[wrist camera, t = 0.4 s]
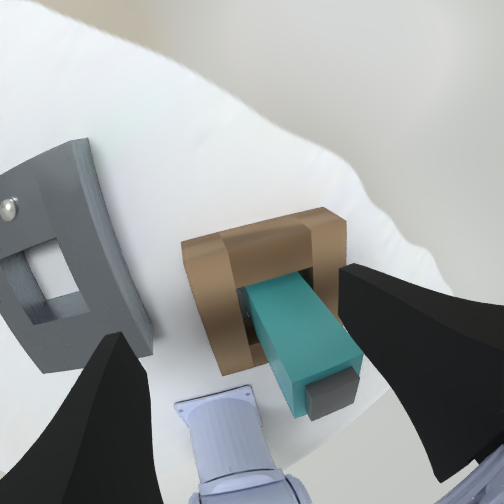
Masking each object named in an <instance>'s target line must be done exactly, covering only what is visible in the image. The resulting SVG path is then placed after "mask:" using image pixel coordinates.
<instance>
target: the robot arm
mask: <svg viewBox="0 0 504 504" xmlns="http://www.w3.org/2000/svg"><path fill="white" fill-rule="evenodd" d="M338 316H339V318H340V320H341V321H342V323H343V325H344V327H345V328H346V330H347V331H348V333H349V335H350V336H351V338H352V339H353V340H354V341H355V343H356V344H357V345H358V346H359V348H360V349H361V350H362V351H363V353H364V354H365V355H366V356H367V358H368V359H369V360H370V361H371V362H372V364H373V365H374V366H375V367H376V368H377V370H378V371H379V372H380V373H381V375H382V376H383V377H384V378H385V380H386V381H387V382H388V384H389V385H390V386H391V388H392V389H393V390H394V392H395V394H396V395H397V397H398V398H399V400H400V401H401V404H402V405H403V407H404V409H405V410H406V412H407V414H408V415H409V417H410V419H411V421H412V423H413V425H414V427H415V429H416V431H417V433H418V435H419V437H420V439H421V441H422V444H423V446H424V448H425V450H426V453H427V455H428V458H429V460H430V463H431V466H432V469H433V472H434V475H435V476H436V478H437V480H438V481H439V482H440V483H442V482H444V481H445V480H447V479H448V478H450V477H451V476H453V475H454V474H456V473H457V472H458V471H460V470H461V469H463V468H464V467H465V466H467V465H468V464H469V463H470V462H471V461H472V460H474V459H475V460H476V461H477V463H478V464H479V466H478V467H477V468H476V469H475V470H474V471H472V472H471V473H470V474H469V475H468V476H467V477H466V478H465V479H464V480H463V481H461V482H460V483H459V484H458V485H457V486H456V487H454V488H453V489H452V490H451V491H450V492H448V493H447V494H446V495H445V496H443V497H442V498H441V499H440V500H438V501H437V502H436V503H434V504H504V306H503V305H494V304H488V303H481V302H475V301H470V300H466V299H461V298H457V297H453V296H449V295H446V294H442V293H439V292H436V291H433V290H430V289H426V288H423V287H420V286H418V285H415V284H412V283H409V282H406V281H404V280H401V279H398V278H395V277H393V276H390V275H387V274H385V273H382V272H379V271H377V270H374V269H371V268H368V267H365V266H362V265H359V264H355V263H353V264H350V265H347V266H344V267H341V268H339V289H338ZM174 408H175V410H176V411H177V413H178V414H179V416H180V417H181V418H182V420H183V421H184V422H185V424H186V425H187V426H188V427H189V430H190V435H191V441H192V446H193V451H194V456H195V461H196V466H197V470H198V475H199V479H200V484H198V487H199V491H200V492H199V493H193V494H192V496H191V497H190V499H189V504H312V502H311V499H310V496H309V494H308V492H307V490H306V488H305V487H304V485H303V484H302V482H301V481H300V480H299V479H298V478H296V477H293V476H292V475H290V474H287V475H284V474H283V472H282V469H281V468H279V469H276V466H275V464H274V461H273V459H272V456H271V454H270V451H269V449H268V446H267V443H266V441H265V438H264V436H263V433H262V430H261V428H260V427H262V422H261V419H260V416H259V412H258V409H257V406H256V402H255V399H254V395H253V392H252V389H251V387H250V386H245V387H241V388H238V389H234V390H230V391H227V392H223V393H219V394H215V395H211V396H207V397H203V398H199V399H194V400H190V401H185V402H181V403H176V404H175V405H174ZM473 497H474V499H472V498H473ZM471 499H472V500H471ZM470 500H471V501H470ZM0 504H164V503H163V500H162V497H161V493H160V489H159V485H158V481H157V476H156V472H155V466H154V459H153V445H152V425H151V399H150V392H149V385H148V378H147V372H146V371H145V369H144V368H143V366H142V365H141V363H140V362H139V360H138V358H137V357H136V355H135V354H134V352H133V350H132V349H131V347H130V345H129V344H128V342H127V340H126V338H125V337H124V335H123V333H122V331H120V332H116V333H112V334H108V335H105V336H104V337H103V339H102V340H101V342H100V343H99V345H98V346H97V348H96V349H95V351H94V353H93V354H92V356H91V357H90V359H89V361H88V362H87V364H86V366H85V367H84V369H83V371H82V372H81V374H80V376H79V377H78V379H77V381H76V383H75V384H74V386H73V387H72V389H71V391H70V392H69V394H68V395H67V397H66V398H65V400H64V402H63V403H62V405H61V407H60V408H59V410H58V411H57V413H56V414H55V416H54V417H53V419H52V420H51V422H50V423H49V424H48V426H47V427H46V429H45V430H44V431H43V433H42V434H41V435H40V437H39V438H38V439H37V441H36V442H35V443H34V444H33V445H32V446H31V448H30V449H29V450H28V451H27V452H26V454H25V455H24V456H23V457H22V458H21V460H20V461H19V462H18V463H17V464H16V465H15V466H14V467H13V468H12V469H11V470H10V471H9V472H8V473H7V474H6V475H5V476H4V477H3V478H2V479H1V480H0Z"/></svg>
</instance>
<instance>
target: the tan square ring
mask: <svg viewBox="0 0 504 504" xmlns="http://www.w3.org/2000/svg"><path fill="white" fill-rule="evenodd" d="M346 236H347V231H346V220H344V219H342V218H341V217H339V216H338V215H336V214H334V213H333V212H331V211H329V210H328V209H326V208H324V207H321V208H316V209H312V210H308V211H303V212H299V213H295V214H290V215H286V216H282V217H278V218H274V219H270V220H265V221H261V222H257V223H253V224H249V225H245V226H241V227H237V228H233V229H229V230H225V231H221V232H217V233H213V234H210V235H206V236H202V237H198V238H194V239H190V240H187V241H183V242H181V246H182V256H183V264H184V267H185V270H186V274H187V277H188V280H189V283H190V286H191V289H192V293H193V296H194V299H195V302H196V305H197V308H198V311H199V314H200V316H201V319H202V322H203V325H204V328H205V331H206V334H207V336H208V339H209V342H210V345H211V347H212V350H213V353H214V356H215V358H216V361H217V363H218V366H219V369H220V371H221V374H222V376H225V375H229V374H233V373H236V372H240V371H243V370H247V369H250V368H253V367H256V366H260V365H263V364H266V363H269V362H268V360H267V357H266V355H265V353H264V351H263V348H262V346H261V344H260V341H259V339H258V337H257V335H256V332H255V330H254V328H253V325H252V323H251V321H250V319H249V317H247V318H244V319H243V318H242V314H241V309H240V305H239V301H238V296H237V292H236V289H237V288H241V287H244V286H248V285H251V284H255V283H258V282H262V281H265V280H269V279H272V278H276V277H279V276H283V275H286V274H289V273H293V272H296V271H297V272H298V273H299V274H300V275H301V276H302V278H303V279H304V280H305V281H306V282H307V284H308V285H309V286H310V287H311V288H312V290H313V291H314V292H315V293H316V295H317V296H318V297H319V298H320V299H321V301H322V302H323V303H324V304H325V306H326V307H327V308H328V309H329V310H330V312H331V313H332V314H333V315H334V317H335V318H336V319H337V320H338V322H339V323H340V324H341V325H342V326H343V323H342V321H341V320H340V318H339V316H338V289H339V268H341V267H344V266H346Z"/></svg>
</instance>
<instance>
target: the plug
mask: <svg viewBox="0 0 504 504" xmlns="http://www.w3.org/2000/svg"><path fill="white" fill-rule="evenodd" d="M241 289H242V294H243V299H244V303H245V308H246V312H247V314H248V316H249V319H250V321H251V323H252V325H253V328H254V330H255V332H256V335H257V337H258V339H259V341H260V344H261V346H262V348H263V351H264V353H265V355H266V357H267V360H268V362H269V364H270V366H271V368H272V371H273V373H274V375H275V377H276V379H277V382H278V384H279V386H280V388H281V390H282V393H283V395H284V397H285V399H286V401H287V403H288V406H289V408H290V410H291V412H292V414H293V416H294V418H298V417H301V416H303V415H306V414H308V416H309V418H310V420H311V421H314V420H316V419H319V418H321V417H323V416H326V415H328V414H330V413H333V412H335V411H337V410H339V409H342V408H344V407H346V406H348V405H350V404H352V403H354V400H355V396H356V392H357V388H358V384H359V380H360V377H359V374H360V369H361V364H362V360H363V355H364V353H363V351H362V350H361V349H360V348H359V346H358V345H357V344H356V343H355V341H354V340H353V339H352V338H351V336H350V335H349V334H348V333H347V331H346V330H345V329H344V328H343V326H342V325H341V324H340V323H339V322H338V320H337V319H336V318H335V317H334V315H333V314H332V313H331V312H330V310H329V309H328V308H327V307H326V306H325V304H324V303H323V302H322V301H321V299H320V298H319V297H318V296H317V295H316V293H315V292H314V291H313V290H312V288H311V287H310V286H309V285H308V284H307V282H306V281H305V280H304V279H303V278H302V276H301V275H300V274H299V273H298V272H297V271H296V272H293V273H289V274H286V275H283V276H279V277H276V278H272V279H269V280H265V281H262V282H258V283H255V284H251V285H248V286H244V287H241Z"/></svg>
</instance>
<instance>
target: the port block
mask: <svg viewBox="0 0 504 504" xmlns="http://www.w3.org/2000/svg"><path fill="white" fill-rule="evenodd" d="M53 238H57V241H58V243H59V246H60V248H61V251H62V253H63V256H64V258H65V260H66V262H67V265H68V267H69V269H70V271H71V274H72V276H73V278H74V280H75V282H76V284H77V286H78V288H79V290H80V291H79V292H75V293H71V294H68V295H64V296H61V297H57V298H53V299H50V300H46V299H45V298H44V296H43V294H42V292H41V290H40V288H39V286H38V284H37V282H36V280H35V278H34V276H33V274H32V272H31V270H30V268H29V266H28V263H27V261H26V259H25V257H24V254H23V252H22V250H24V249H27V248H29V247H32V246H34V245H37V244H40V243H42V242H45V241H47V240H50V239H53ZM0 314H1V315H2V317H3V318H4V320H5V322H6V323H7V325H8V326H9V328H10V330H11V331H12V333H13V334H14V336H15V337H16V339H17V340H18V341H19V343H20V344H21V346H22V347H23V348H24V350H25V351H26V353H27V354H28V355H29V357H30V358H31V359H32V361H33V362H34V363H35V364H36V366H37V367H38V368H39V369H40V371H41V372H42V373H43V374H45V373H53V372H61V371H68V370H74V369H81V368H84V367H85V366H86V364H87V362H88V361H89V359H90V357H91V356H92V354H93V353H94V351H95V349H96V348H97V346H98V345H99V343H100V342H101V340H102V339H103V337H104V336H105V335H108V334H112V333H116V332H120V331H122V333H123V335H124V337H125V338H126V340H127V342H128V344H129V345H130V347H131V349H132V350H133V352H134V354H135V355H136V357H137V358H141V357H145V356H150V355H153V326H152V324H151V322H150V320H149V317H148V315H147V313H146V311H145V309H144V306H143V304H142V302H141V300H140V297H139V295H138V293H137V290H136V288H135V286H134V283H133V281H132V278H131V276H130V274H129V271H128V268H127V266H126V263H125V261H124V258H123V256H122V253H121V250H120V247H119V245H118V242H117V239H116V236H115V233H114V231H113V228H112V225H111V222H110V219H109V215H108V212H107V209H106V206H105V203H104V199H103V196H102V193H101V189H100V186H99V182H98V179H97V175H96V171H95V167H94V163H93V159H92V155H91V151H90V147H89V142H88V138H83V139H77V140H71V141H68V142H66V143H64V144H61V145H59V146H57V147H54V148H52V149H50V150H48V151H46V152H44V153H41V154H39V155H37V156H35V157H33V158H31V159H29V160H27V161H25V162H23V163H21V164H20V165H18V166H16V167H14V168H12V169H10V170H9V171H7V172H5V173H3V174H2V175H0Z"/></svg>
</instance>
